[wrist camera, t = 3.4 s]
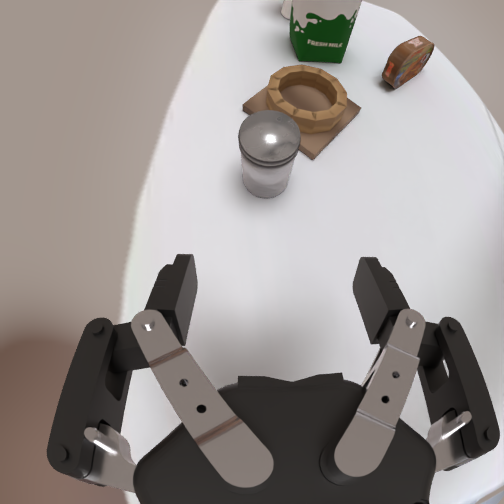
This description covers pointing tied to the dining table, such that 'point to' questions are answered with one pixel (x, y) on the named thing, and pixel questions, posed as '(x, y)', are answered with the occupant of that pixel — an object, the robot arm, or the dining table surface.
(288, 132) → the salt shaker
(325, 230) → the dining table surface
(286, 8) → the cup
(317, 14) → the milk carton
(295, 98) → the ring board
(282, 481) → the robot arm
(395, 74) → the tin
